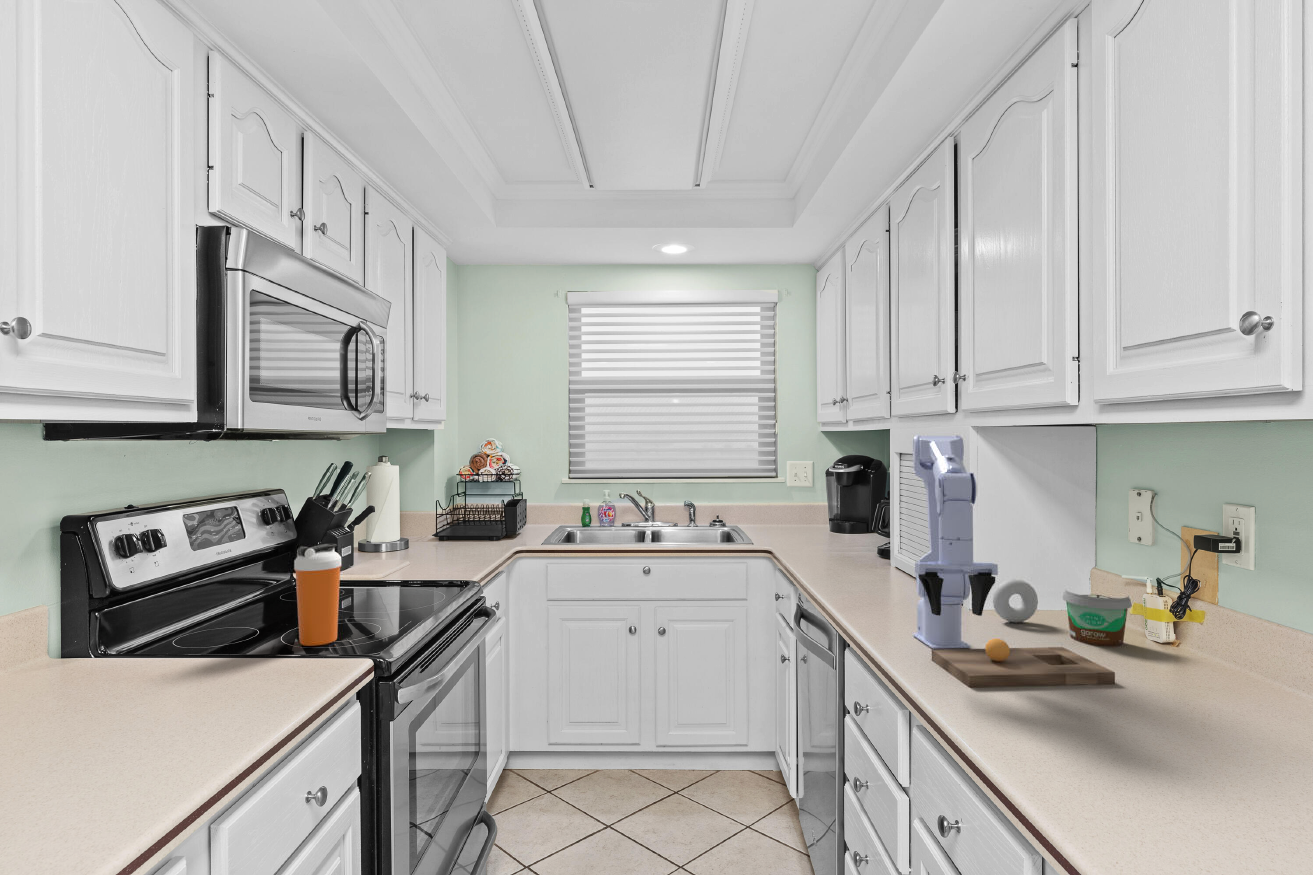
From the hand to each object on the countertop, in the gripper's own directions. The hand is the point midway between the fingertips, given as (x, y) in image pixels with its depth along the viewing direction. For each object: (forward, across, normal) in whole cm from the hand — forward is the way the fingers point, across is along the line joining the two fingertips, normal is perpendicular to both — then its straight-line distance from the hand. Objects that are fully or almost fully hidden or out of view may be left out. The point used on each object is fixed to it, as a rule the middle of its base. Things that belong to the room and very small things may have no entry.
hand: (956, 614), depth 123 cm
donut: (+8, +30, +32) cm, 45 cm away
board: (+10, +12, +1) cm, 16 cm away
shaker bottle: (+12, -124, +28) cm, 128 cm away
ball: (+6, +8, +1) cm, 10 cm away
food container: (+9, +38, +16) cm, 42 cm away
